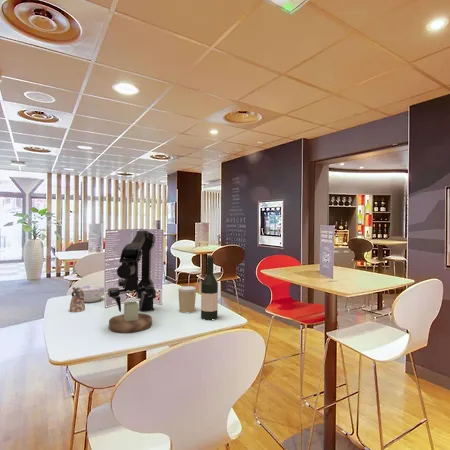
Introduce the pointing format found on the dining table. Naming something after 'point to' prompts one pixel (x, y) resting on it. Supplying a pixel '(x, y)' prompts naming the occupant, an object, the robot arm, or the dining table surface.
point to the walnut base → (130, 324)
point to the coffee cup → (187, 298)
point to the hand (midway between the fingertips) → (130, 310)
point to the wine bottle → (209, 293)
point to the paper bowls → (92, 292)
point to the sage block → (130, 311)
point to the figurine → (77, 300)
